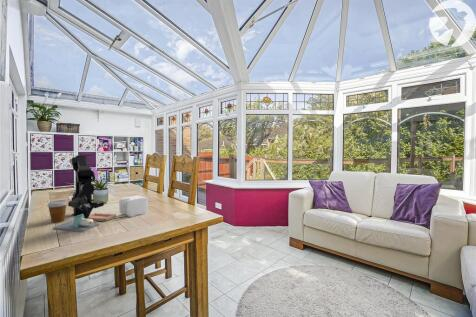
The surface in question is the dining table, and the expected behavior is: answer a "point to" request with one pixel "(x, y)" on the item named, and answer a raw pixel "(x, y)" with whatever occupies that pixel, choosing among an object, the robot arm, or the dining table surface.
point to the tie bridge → (77, 220)
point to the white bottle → (84, 222)
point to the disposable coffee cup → (57, 210)
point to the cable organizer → (133, 205)
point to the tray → (101, 217)
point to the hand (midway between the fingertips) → (86, 218)
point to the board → (70, 227)
